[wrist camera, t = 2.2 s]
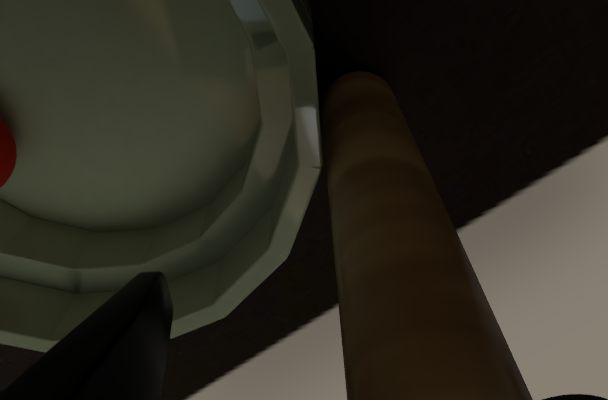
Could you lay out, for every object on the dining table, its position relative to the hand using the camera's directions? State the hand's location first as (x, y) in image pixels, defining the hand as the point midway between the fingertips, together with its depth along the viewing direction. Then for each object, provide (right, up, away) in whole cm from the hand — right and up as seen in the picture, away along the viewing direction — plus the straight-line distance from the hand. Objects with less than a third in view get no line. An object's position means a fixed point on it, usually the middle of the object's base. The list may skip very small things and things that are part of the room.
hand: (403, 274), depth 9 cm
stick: (0, +4, +7) cm, 8 cm away
